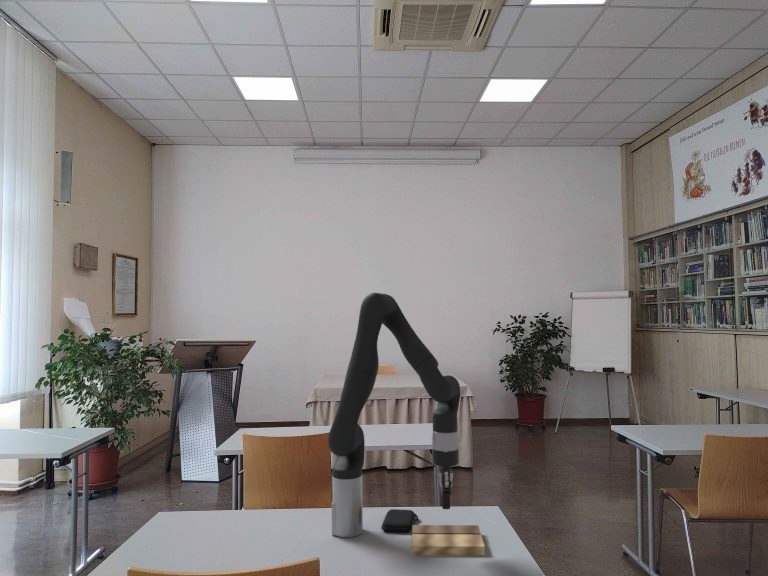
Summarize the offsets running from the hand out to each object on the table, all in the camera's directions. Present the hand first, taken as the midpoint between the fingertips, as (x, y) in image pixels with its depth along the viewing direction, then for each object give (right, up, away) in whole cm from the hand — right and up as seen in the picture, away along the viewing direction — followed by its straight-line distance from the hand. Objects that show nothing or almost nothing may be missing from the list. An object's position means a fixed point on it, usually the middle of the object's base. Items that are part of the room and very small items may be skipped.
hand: (446, 508), depth 153 cm
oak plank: (0, -12, 0) cm, 12 cm away
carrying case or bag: (-12, -14, +19) cm, 26 cm away
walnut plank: (+1, -12, +8) cm, 15 cm away
